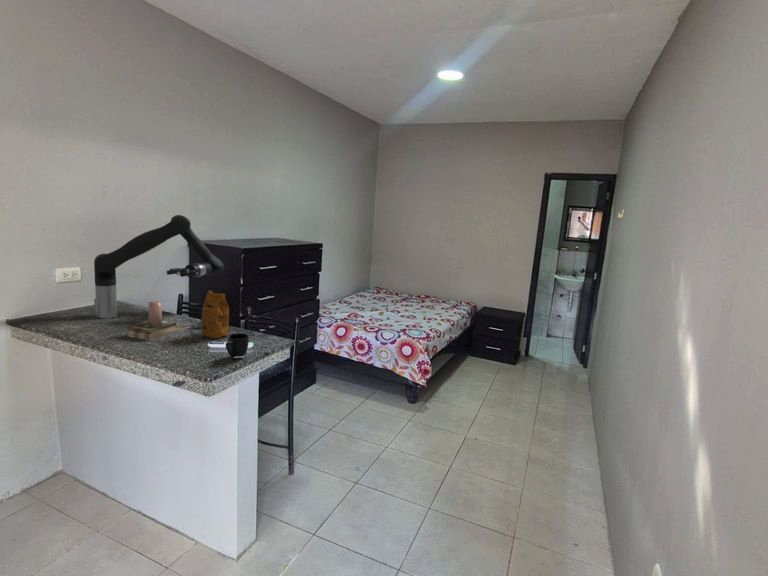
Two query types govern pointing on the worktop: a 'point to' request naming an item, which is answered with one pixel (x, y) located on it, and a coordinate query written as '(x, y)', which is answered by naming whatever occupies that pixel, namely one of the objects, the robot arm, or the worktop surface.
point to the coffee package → (215, 316)
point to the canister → (155, 314)
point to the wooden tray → (152, 330)
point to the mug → (237, 344)
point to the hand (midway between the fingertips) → (174, 273)
